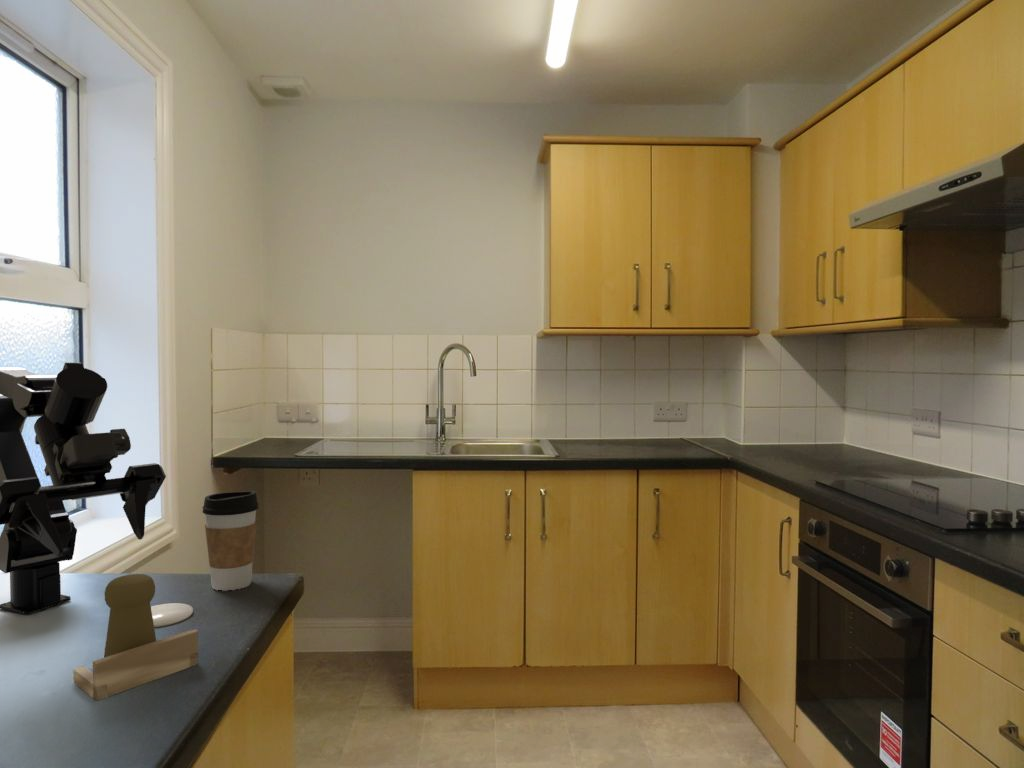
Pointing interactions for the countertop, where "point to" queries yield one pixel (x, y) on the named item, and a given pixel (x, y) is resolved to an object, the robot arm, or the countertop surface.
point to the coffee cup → (230, 538)
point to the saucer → (170, 613)
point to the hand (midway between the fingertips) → (102, 545)
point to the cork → (129, 613)
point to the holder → (138, 665)
